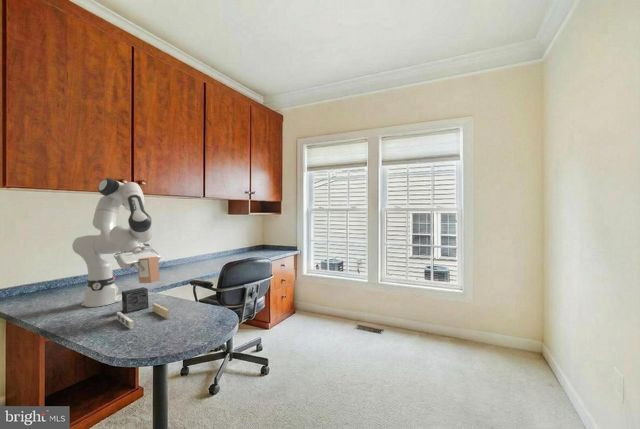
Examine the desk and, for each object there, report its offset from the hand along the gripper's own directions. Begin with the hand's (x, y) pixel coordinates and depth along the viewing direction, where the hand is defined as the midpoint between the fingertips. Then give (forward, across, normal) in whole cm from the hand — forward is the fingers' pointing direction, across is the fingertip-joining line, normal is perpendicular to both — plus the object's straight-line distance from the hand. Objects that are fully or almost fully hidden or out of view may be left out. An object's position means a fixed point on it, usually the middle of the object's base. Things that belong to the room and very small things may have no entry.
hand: (148, 269), depth 143 cm
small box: (+4, +3, +27) cm, 28 cm away
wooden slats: (+16, -6, +16) cm, 23 cm away
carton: (+4, 0, +5) cm, 6 cm away
